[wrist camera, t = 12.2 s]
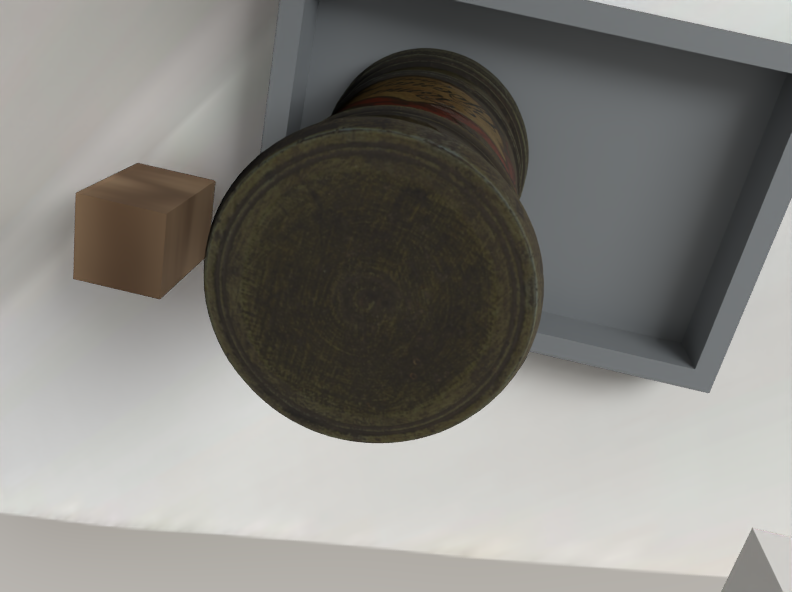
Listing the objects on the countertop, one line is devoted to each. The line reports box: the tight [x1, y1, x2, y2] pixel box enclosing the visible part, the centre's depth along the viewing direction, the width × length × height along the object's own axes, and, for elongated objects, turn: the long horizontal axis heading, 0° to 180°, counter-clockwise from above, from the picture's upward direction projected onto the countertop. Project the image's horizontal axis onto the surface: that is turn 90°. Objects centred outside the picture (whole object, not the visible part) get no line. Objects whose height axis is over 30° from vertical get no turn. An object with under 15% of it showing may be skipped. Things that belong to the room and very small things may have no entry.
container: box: [204, 48, 544, 443], centre depth 26 cm, size 9×9×18 cm
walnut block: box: [73, 163, 215, 299], centre depth 35 cm, size 4×4×6 cm
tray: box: [260, 0, 792, 393], centre depth 33 cm, size 22×15×4 cm
